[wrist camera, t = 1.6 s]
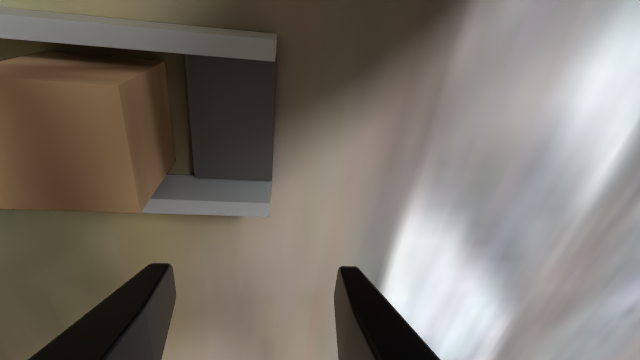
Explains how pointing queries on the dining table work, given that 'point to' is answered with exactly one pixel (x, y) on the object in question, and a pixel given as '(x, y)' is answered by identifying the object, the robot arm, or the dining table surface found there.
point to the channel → (193, 103)
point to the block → (83, 132)
